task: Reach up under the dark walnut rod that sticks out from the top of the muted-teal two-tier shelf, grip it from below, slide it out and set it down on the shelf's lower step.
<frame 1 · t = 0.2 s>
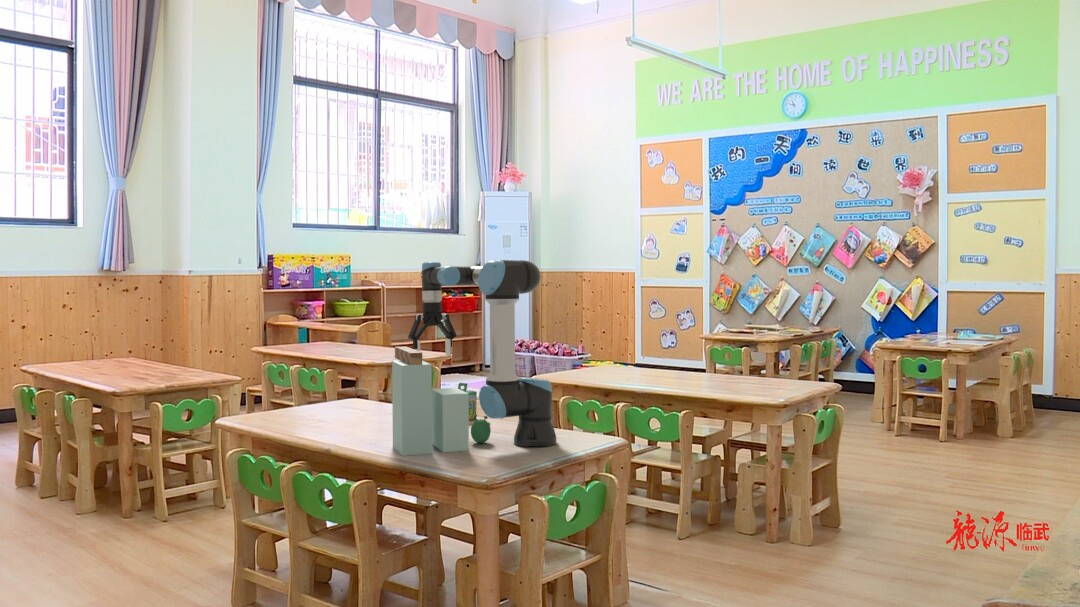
hand: (433, 356, 344), 28 cm above the table, tool pointing down, fingers open, 13 cm apart
walnut rod: (408, 361, 305), point 30 cm above the table, touching step shelf
step shelf: (412, 450, 302), on the table
alien toy: (481, 443, 315), on the table
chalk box: (461, 419, 364), on the table
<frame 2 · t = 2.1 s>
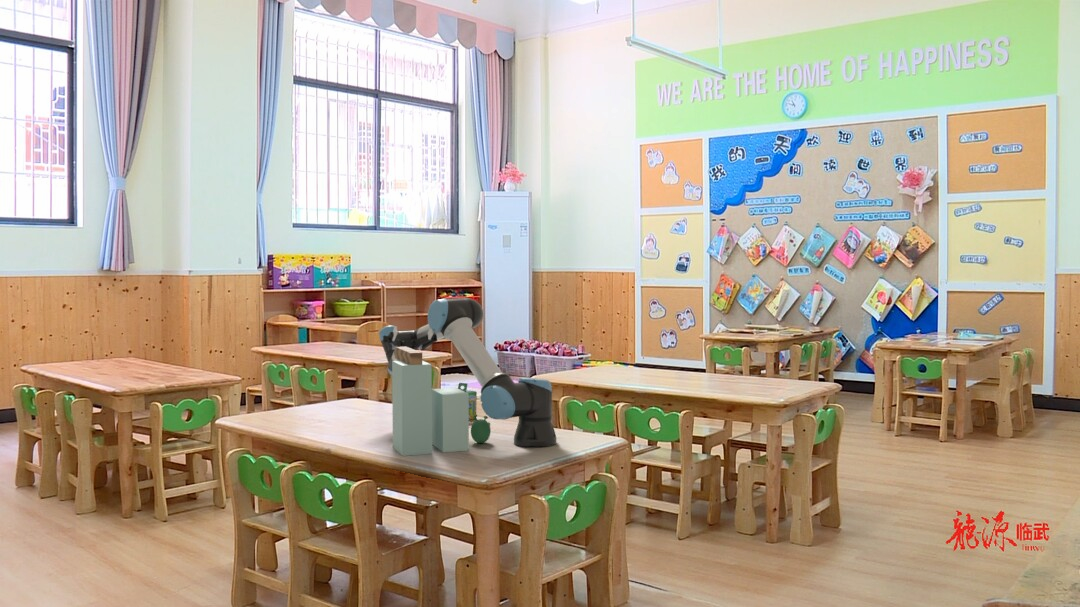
hand: (414, 329, 324), 40 cm above the table, tool pointing upward, fingers open, 13 cm apart
nothing on the table moved.
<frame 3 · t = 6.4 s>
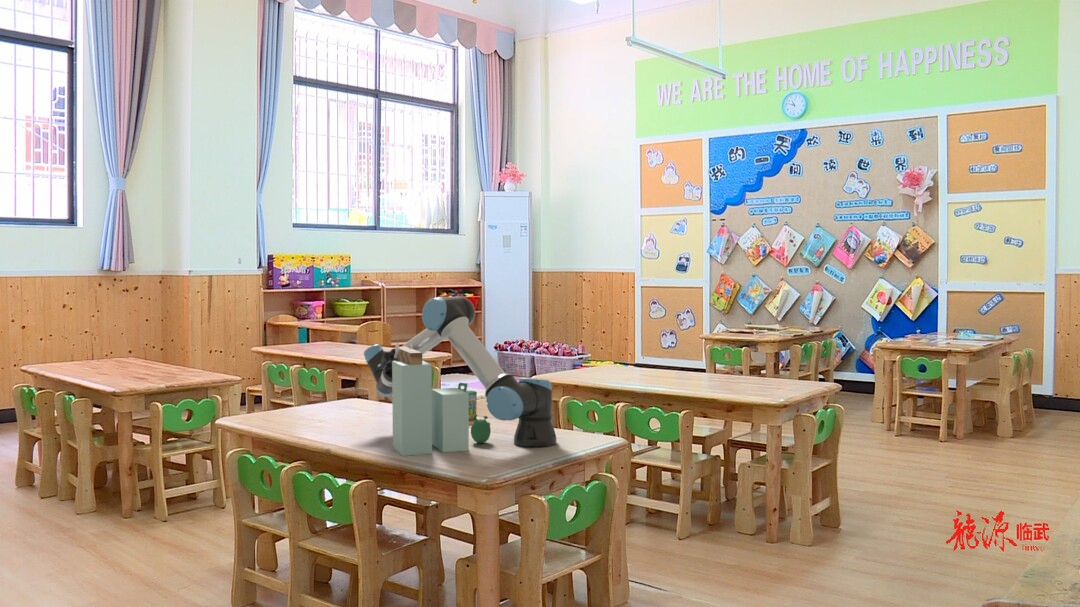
hand: (404, 346, 310), 35 cm above the table, tool pointing upward, fingers closed on walnut rod, 4 cm apart
walnut rod: (408, 361, 305), point 30 cm above the table, touching gripper, step shelf
everything else where it was.
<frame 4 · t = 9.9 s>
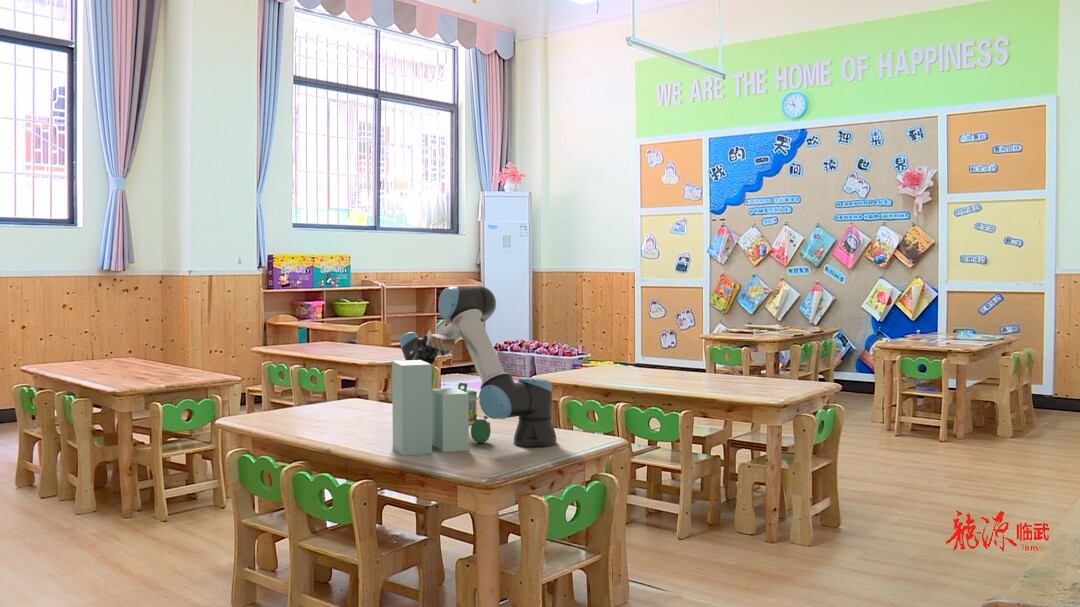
hand: (436, 333, 320), 38 cm above the table, tool pointing upward, fingers closed on walnut rod, 4 cm apart
walnut rod: (440, 347, 316), point 34 cm above the table, touching gripper
everything else where it was.
when the fingers open (25 cm above the table, at t = 13.5 s): walnut rod stays where it is, resting on step shelf.
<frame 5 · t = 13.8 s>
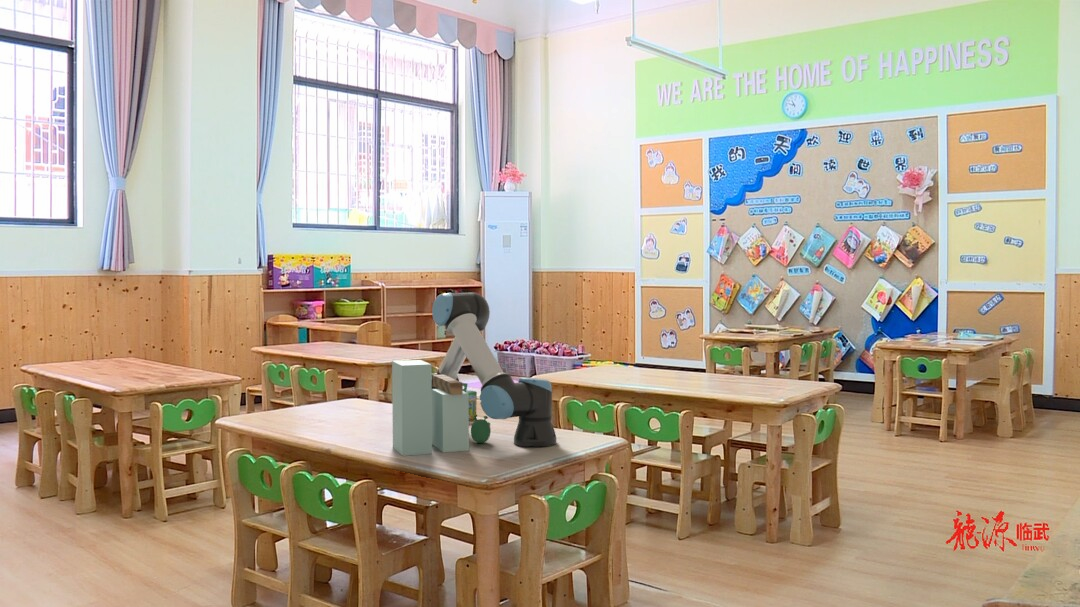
hand: (443, 374, 314), 24 cm above the table, tool pointing upward, fingers open, 8 cm apart
walnut rod: (447, 390, 309), point 19 cm above the table, touching step shelf
everything else where it was.
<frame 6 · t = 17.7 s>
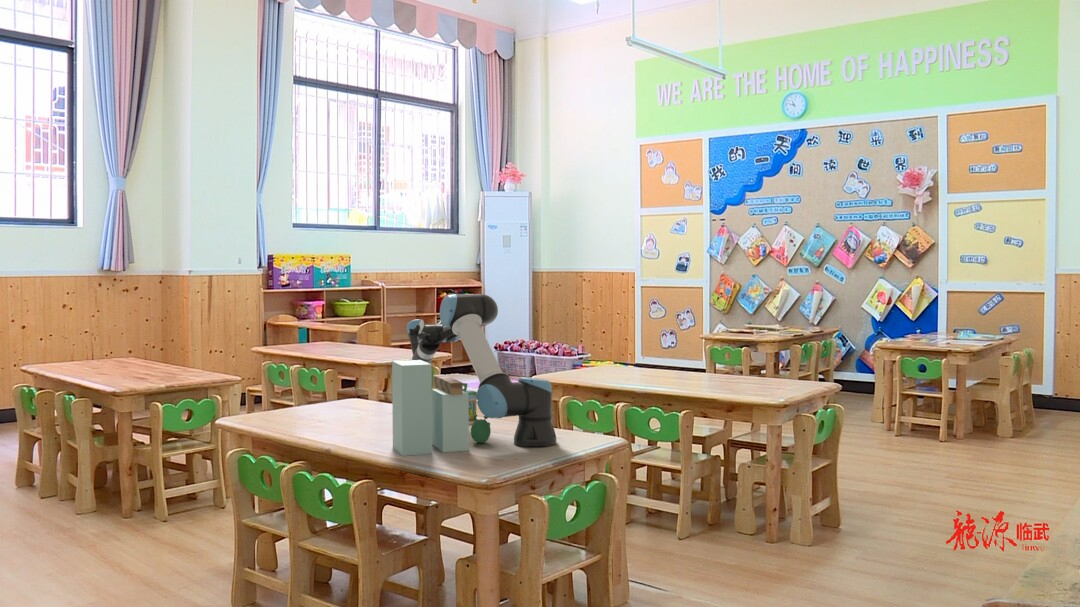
hand: (440, 322, 333), 42 cm above the table, tool pointing upward, fingers open, 13 cm apart
nothing on the table moved.
at the end: walnut rod inside the target area on the step shelf (0.1 cm from its centre), point 19.5 cm above the step shelf's base; walnut rod touching step shelf; the gripper is holding nothing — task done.
